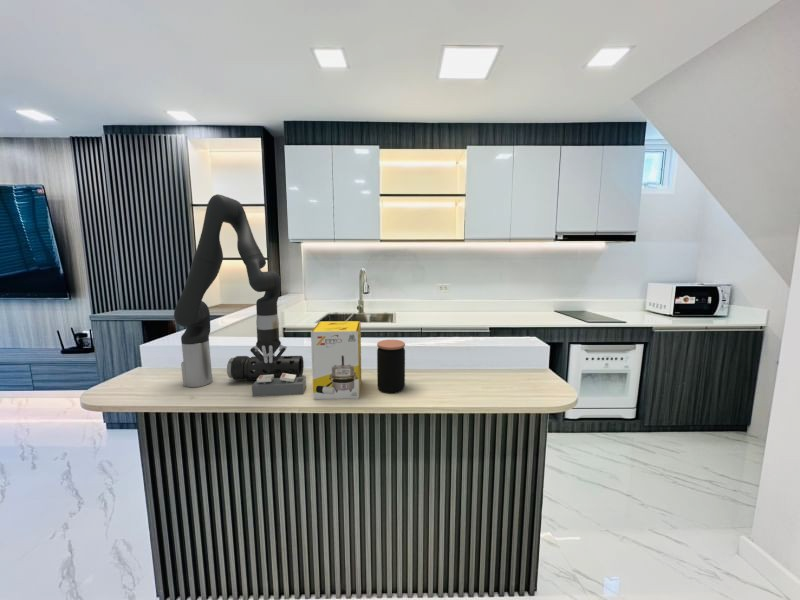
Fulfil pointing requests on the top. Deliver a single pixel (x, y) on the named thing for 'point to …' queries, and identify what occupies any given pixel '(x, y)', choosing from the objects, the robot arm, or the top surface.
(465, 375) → the top surface
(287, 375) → the rocker
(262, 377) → the rocker
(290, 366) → the muzzle brake
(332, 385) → the packaging box
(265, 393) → the switch strip
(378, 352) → the coffee jar
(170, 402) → the top surface
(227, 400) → the top surface
